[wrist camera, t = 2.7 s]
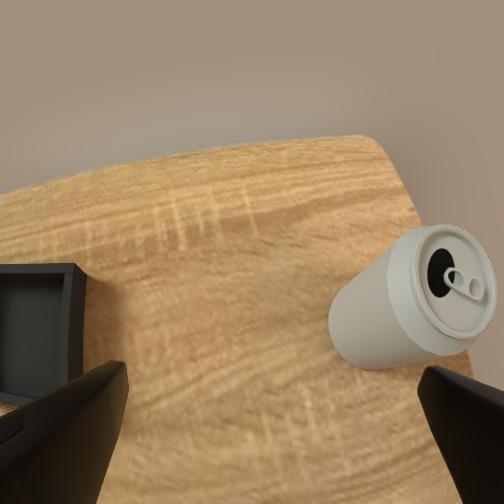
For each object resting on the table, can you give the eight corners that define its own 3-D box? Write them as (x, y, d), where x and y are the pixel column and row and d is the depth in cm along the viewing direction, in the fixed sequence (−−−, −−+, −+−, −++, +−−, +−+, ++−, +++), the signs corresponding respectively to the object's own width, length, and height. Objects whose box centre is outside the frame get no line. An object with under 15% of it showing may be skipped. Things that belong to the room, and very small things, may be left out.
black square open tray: (84, 413, 20) (69, 415, 17) (-19, 393, 18) (-37, 391, 16) (87, 274, 24) (74, 262, 21) (-11, 274, 23) (-26, 264, 20)
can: (346, 265, 27) (421, 186, 16) (416, 307, 26) (512, 254, 15) (308, 344, 24) (382, 308, 13) (385, 385, 23) (492, 373, 12)
